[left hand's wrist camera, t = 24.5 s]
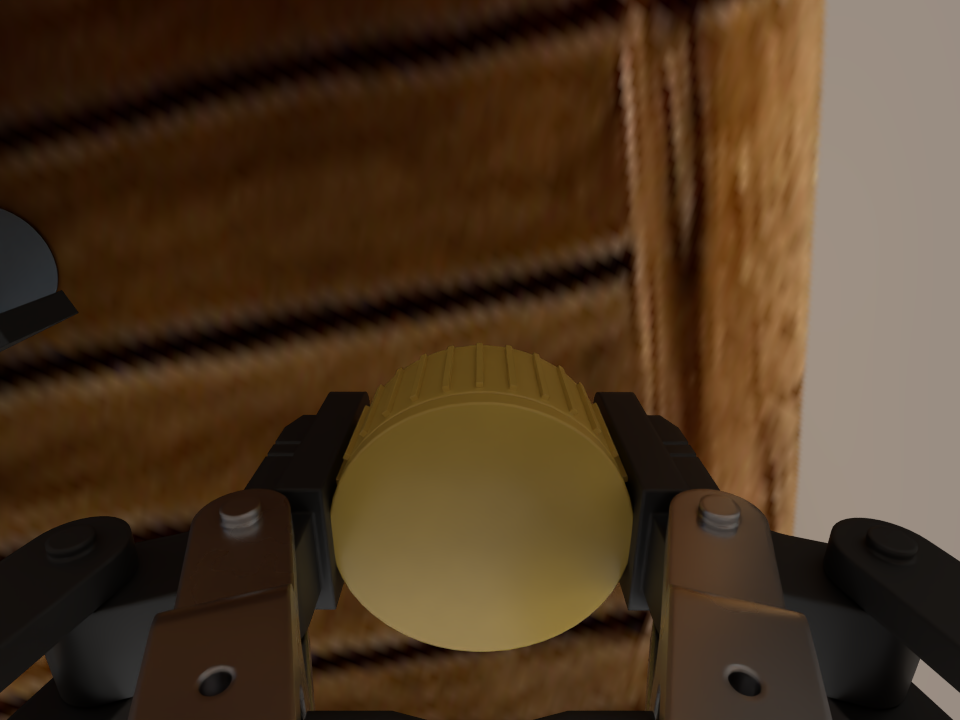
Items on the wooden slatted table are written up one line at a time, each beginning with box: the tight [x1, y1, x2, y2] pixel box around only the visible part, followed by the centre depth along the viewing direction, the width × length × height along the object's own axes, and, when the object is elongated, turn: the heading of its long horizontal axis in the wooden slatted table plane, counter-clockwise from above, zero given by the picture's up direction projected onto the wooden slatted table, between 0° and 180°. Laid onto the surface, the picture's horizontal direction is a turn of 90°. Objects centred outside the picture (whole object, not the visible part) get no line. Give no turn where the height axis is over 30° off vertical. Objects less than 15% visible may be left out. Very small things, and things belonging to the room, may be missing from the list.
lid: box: [330, 343, 633, 652], centre depth 10 cm, size 5×5×2 cm
